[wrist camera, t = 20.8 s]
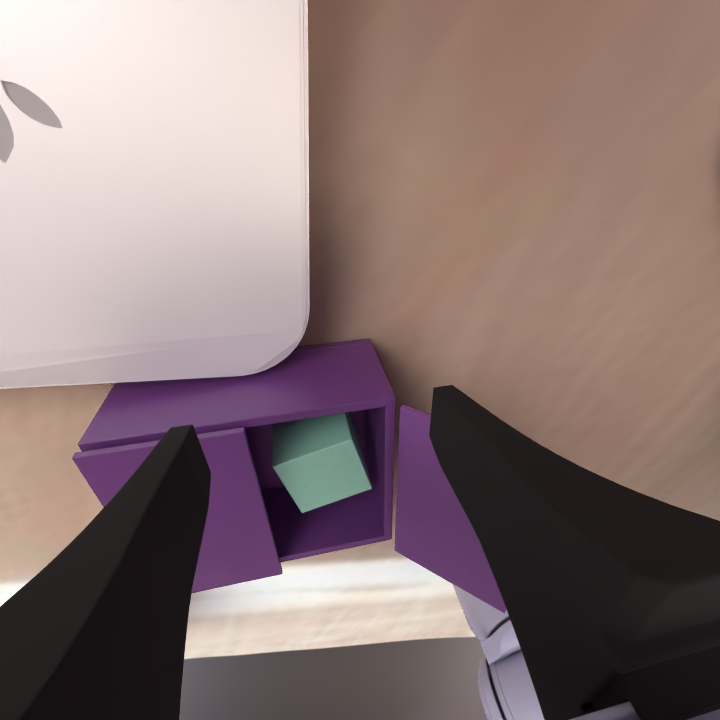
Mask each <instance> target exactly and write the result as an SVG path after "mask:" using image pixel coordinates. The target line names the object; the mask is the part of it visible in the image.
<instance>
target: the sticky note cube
mask: <svg viewBox="0 0 720 720" xmlns="http://www.w3.org/2000/svg"><path fill="white" fill-rule="evenodd" d="M272 467H273V469H274V470H275V472H276V473H277V475H278V476H279V478H280V480H281V481H282V483H283V484H284V486H285V487H286V489H287V491H288V492H289V494H290V495H291V497H292V498H293V500H294V501H295V503H296V505H297V506H298V508H299V509H300V511H301V512H302V513H304V512H307V511H310V510H313V509H315V508H318V507H321V506H324V505H327V504H330V503H333V502H335V501H338V500H341V499H344V498H347V497H350V496H352V495H355V494H358V493H361V492H364V491H367V490H369V489H372V485H371V482H370V478H369V474H368V471H367V467H366V463H365V460H364V456H363V452H362V449H361V445H360V441H359V438H358V435H357V432H356V430H355V427H354V425H353V422H352V420H351V417H350V415H349V412H347V413H340V414H334V415H327V416H320V417H314V418H307V419H301V420H294V421H287V422H281V423H274V424H273V465H272Z"/></svg>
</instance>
